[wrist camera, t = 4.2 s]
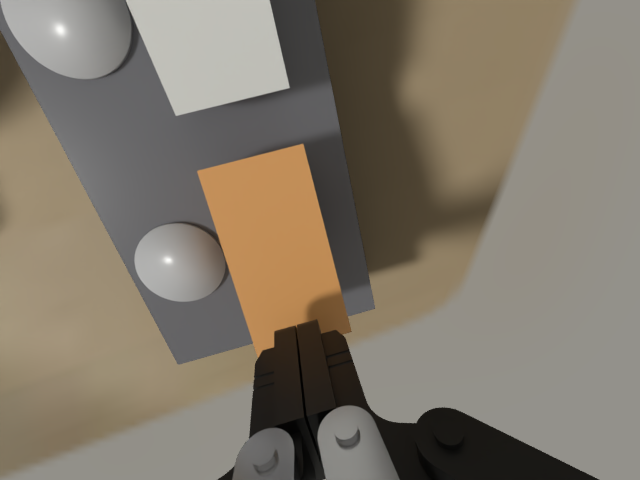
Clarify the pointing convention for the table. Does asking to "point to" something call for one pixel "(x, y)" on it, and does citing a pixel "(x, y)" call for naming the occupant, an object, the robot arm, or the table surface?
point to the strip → (181, 155)
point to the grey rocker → (211, 50)
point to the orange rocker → (275, 243)
